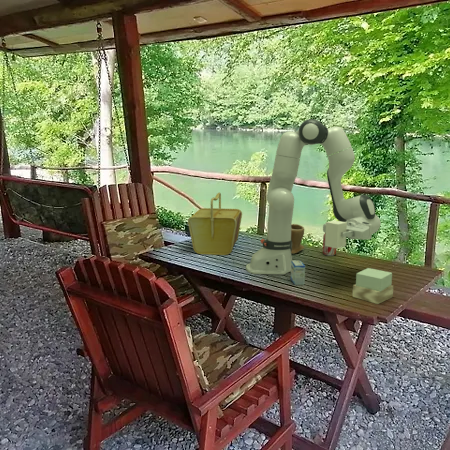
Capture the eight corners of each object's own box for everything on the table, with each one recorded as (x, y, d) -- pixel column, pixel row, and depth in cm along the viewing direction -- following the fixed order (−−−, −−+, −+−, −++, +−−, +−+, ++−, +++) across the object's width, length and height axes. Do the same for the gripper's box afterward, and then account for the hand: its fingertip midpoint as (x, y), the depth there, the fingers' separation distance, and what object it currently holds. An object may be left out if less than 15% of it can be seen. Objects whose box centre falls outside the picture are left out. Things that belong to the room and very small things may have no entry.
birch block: (352, 297, 184) (353, 285, 183) (367, 291, 191) (368, 279, 190) (377, 304, 176) (378, 292, 175) (392, 298, 183) (393, 285, 182)
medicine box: (290, 279, 205) (290, 260, 203) (300, 279, 205) (301, 260, 204) (294, 285, 197) (295, 265, 196) (304, 284, 198) (305, 265, 196)
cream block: (324, 245, 194) (325, 222, 192) (333, 243, 198) (334, 220, 196) (336, 248, 189) (338, 224, 187) (345, 246, 193) (346, 222, 191)
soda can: (336, 256, 241) (337, 234, 238) (322, 256, 242) (323, 233, 240) (336, 253, 248) (337, 231, 245) (322, 252, 249) (323, 230, 247)
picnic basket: (198, 242, 274) (197, 191, 268) (242, 243, 270) (242, 192, 264) (187, 255, 245) (186, 198, 239) (236, 256, 242) (236, 199, 236)
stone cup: (297, 256, 242) (298, 228, 239) (277, 253, 249) (277, 225, 246) (310, 250, 254) (311, 223, 251) (290, 247, 261) (291, 221, 258)
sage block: (355, 285, 182) (356, 273, 181) (367, 279, 189) (368, 267, 188) (380, 291, 175) (381, 278, 174) (391, 285, 183) (392, 272, 182)
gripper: (334, 218, 208) (314, 222, 199) (375, 224, 192) (356, 229, 184) (333, 231, 209) (314, 236, 200) (374, 239, 194) (355, 245, 185)
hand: (334, 233), depth 192 cm, fingers closed on cream block, 6 cm apart
